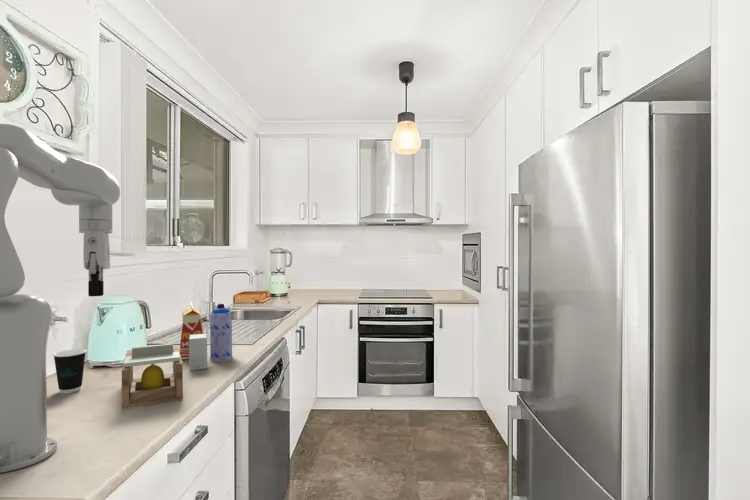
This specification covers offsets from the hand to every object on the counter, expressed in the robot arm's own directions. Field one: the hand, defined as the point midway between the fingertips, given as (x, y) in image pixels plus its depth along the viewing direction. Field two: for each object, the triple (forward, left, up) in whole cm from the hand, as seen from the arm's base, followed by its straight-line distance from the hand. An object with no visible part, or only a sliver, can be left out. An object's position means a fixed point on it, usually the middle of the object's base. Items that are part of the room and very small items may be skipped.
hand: (96, 295), depth 114 cm
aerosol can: (+40, -22, -28) cm, 54 cm away
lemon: (0, -14, -27) cm, 31 cm away
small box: (+30, -17, -28) cm, 44 cm away
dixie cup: (+9, +12, -28) cm, 32 cm away
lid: (0, -14, -18) cm, 23 cm away
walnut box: (+6, -12, -28) cm, 31 cm away
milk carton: (+45, -10, -28) cm, 54 cm away
